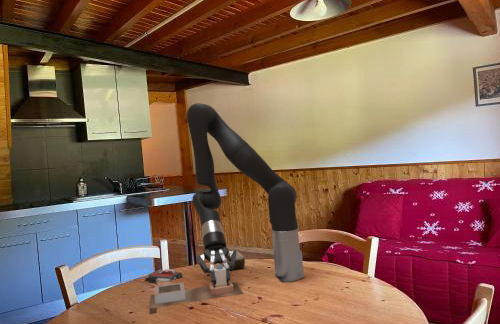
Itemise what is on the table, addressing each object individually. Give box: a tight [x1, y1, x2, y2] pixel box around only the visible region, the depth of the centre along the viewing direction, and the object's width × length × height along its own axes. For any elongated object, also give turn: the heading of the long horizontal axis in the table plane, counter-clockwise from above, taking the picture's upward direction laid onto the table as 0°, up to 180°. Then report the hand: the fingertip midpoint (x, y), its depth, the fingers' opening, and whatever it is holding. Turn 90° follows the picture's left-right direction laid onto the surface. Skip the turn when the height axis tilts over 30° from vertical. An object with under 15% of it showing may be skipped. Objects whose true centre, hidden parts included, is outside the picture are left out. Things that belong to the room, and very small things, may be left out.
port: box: [154, 282, 186, 306], centre depth 117 cm, size 9×9×3 cm
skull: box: [226, 249, 247, 272], centre depth 149 cm, size 12×10×10 cm
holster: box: [208, 279, 234, 295], centre depth 121 cm, size 7×7×2 cm
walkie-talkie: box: [144, 268, 184, 284], centre depth 139 cm, size 9×4×20 cm
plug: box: [214, 264, 227, 288], centre depth 121 cm, size 4×4×8 cm
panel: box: [149, 281, 244, 314], centre depth 119 cm, size 28×12×2 cm, turn 103°
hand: (221, 282), depth 119 cm, fingers closed on plug, 3 cm apart
